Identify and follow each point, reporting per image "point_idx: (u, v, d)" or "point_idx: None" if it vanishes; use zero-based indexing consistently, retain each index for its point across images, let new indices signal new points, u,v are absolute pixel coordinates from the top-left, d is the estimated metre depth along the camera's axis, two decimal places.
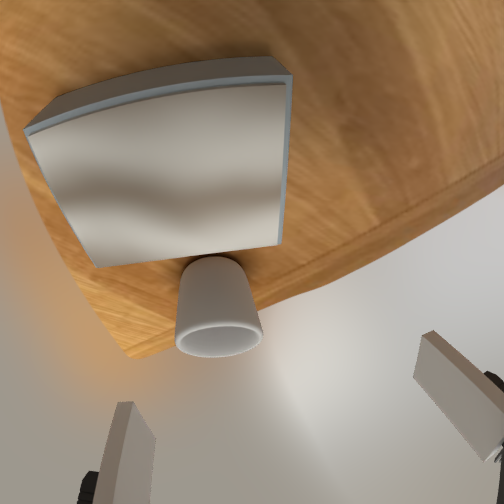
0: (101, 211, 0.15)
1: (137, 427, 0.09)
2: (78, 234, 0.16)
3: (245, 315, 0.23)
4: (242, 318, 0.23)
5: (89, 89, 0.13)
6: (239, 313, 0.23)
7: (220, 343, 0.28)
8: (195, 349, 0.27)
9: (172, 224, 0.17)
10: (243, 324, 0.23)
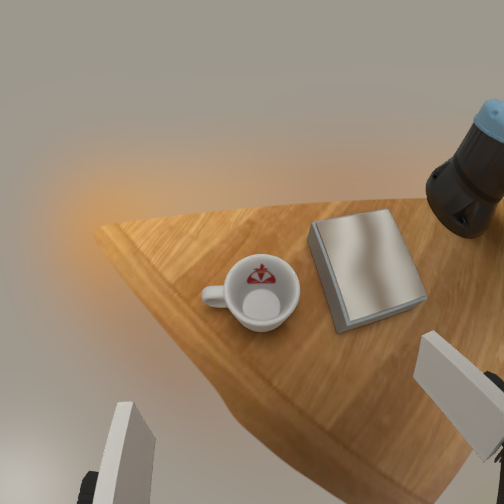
0: (358, 232, 0.36)
1: (137, 427, 0.09)
2: (341, 218, 0.37)
3: None
4: None
5: None
6: None
7: (233, 296, 0.31)
8: (237, 271, 0.31)
9: (356, 263, 0.34)
10: (297, 301, 0.29)
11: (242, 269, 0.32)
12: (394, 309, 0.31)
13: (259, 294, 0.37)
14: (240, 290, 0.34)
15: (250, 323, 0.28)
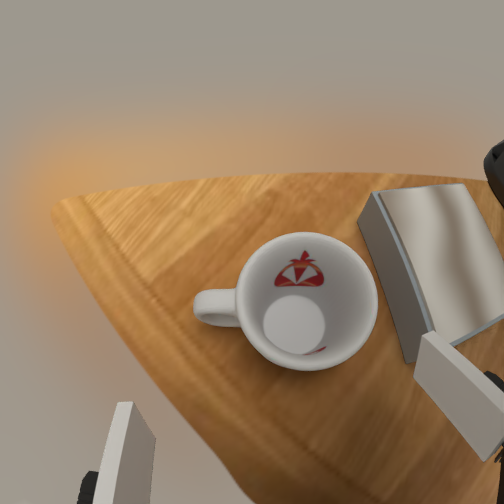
0: (436, 210, 0.21)
1: (137, 427, 0.09)
2: (412, 189, 0.22)
3: None
4: None
5: None
6: None
7: (252, 310, 0.16)
8: (261, 262, 0.16)
9: (441, 255, 0.19)
10: None
11: (270, 259, 0.17)
12: (488, 325, 0.17)
13: (290, 304, 0.22)
14: (262, 297, 0.19)
15: (289, 365, 0.13)
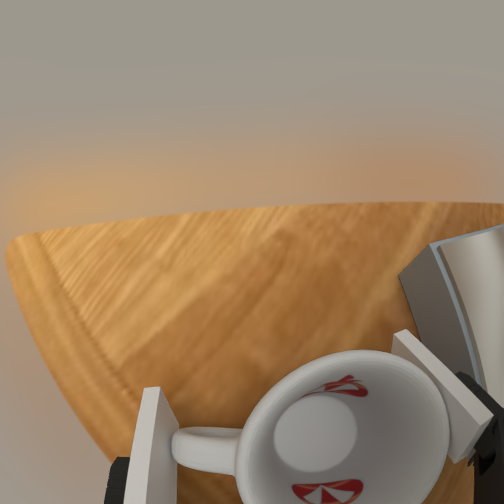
0: (503, 266, 0.13)
1: (164, 412, 0.10)
2: (476, 237, 0.14)
3: None
4: None
5: None
6: None
7: (263, 473, 0.08)
8: (278, 409, 0.08)
9: None
10: (440, 472, 0.06)
11: (293, 398, 0.09)
12: None
13: (312, 408, 0.14)
14: None
15: None
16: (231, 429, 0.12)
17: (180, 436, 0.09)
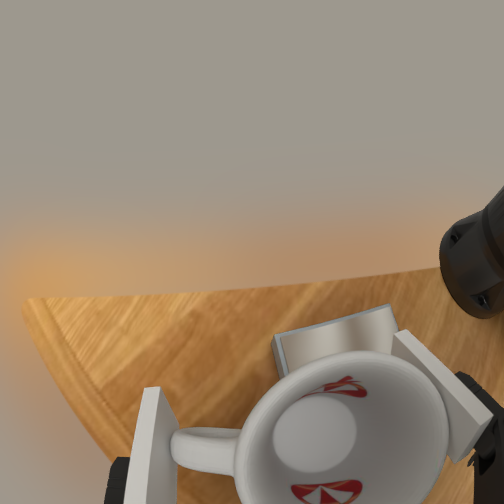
0: (342, 349, 0.24)
1: (164, 412, 0.10)
2: (319, 328, 0.25)
3: None
4: None
5: None
6: None
7: (261, 473, 0.08)
8: (277, 410, 0.08)
9: None
10: None
11: (292, 398, 0.09)
12: None
13: (311, 408, 0.14)
14: None
15: None
16: (231, 430, 0.12)
17: (179, 436, 0.09)
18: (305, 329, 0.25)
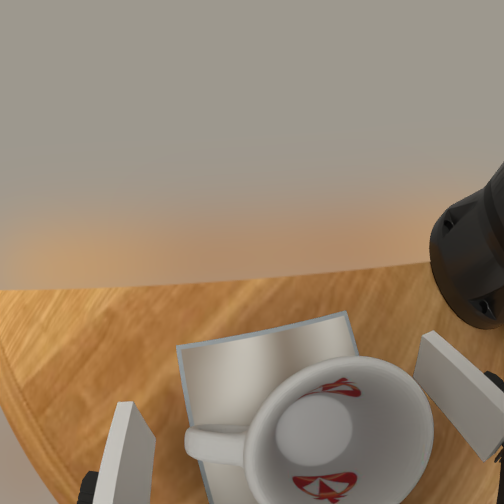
0: (266, 374, 0.17)
1: (137, 427, 0.09)
2: (235, 342, 0.18)
3: None
4: None
5: None
6: None
7: (267, 464, 0.09)
8: (281, 407, 0.10)
9: None
10: None
11: (294, 397, 0.10)
12: None
13: (310, 407, 0.15)
14: None
15: None
16: (237, 426, 0.13)
17: (193, 432, 0.10)
18: (217, 342, 0.19)
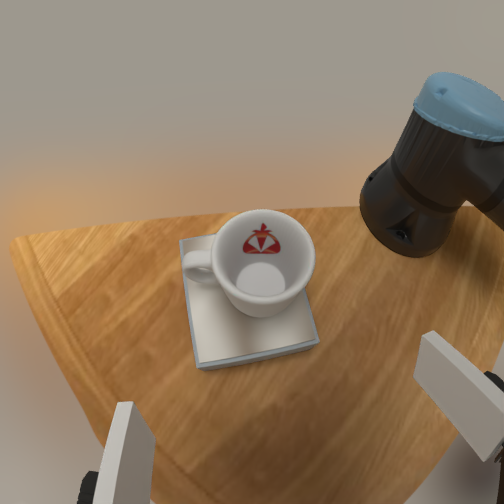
0: None
1: (137, 427, 0.09)
2: (214, 235, 0.31)
3: None
4: (311, 274, 0.22)
5: None
6: None
7: (223, 264, 0.23)
8: (230, 230, 0.23)
9: (220, 292, 0.29)
10: (312, 271, 0.21)
11: (237, 229, 0.23)
12: (264, 354, 0.26)
13: (258, 269, 0.29)
14: (234, 259, 0.26)
15: (246, 299, 0.20)
16: None
17: (187, 253, 0.24)
18: (204, 237, 0.32)
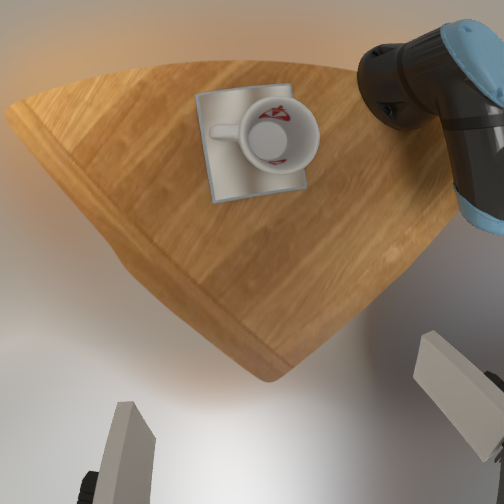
0: (244, 109, 0.32)
1: (137, 427, 0.09)
2: (228, 92, 0.31)
3: None
4: None
5: None
6: None
7: (247, 137, 0.27)
8: (255, 111, 0.25)
9: (233, 142, 0.33)
10: (315, 153, 0.27)
11: (260, 109, 0.25)
12: (265, 193, 0.36)
13: (266, 127, 0.32)
14: (251, 125, 0.29)
15: (266, 171, 0.27)
16: None
17: (216, 124, 0.26)
18: (218, 91, 0.31)
